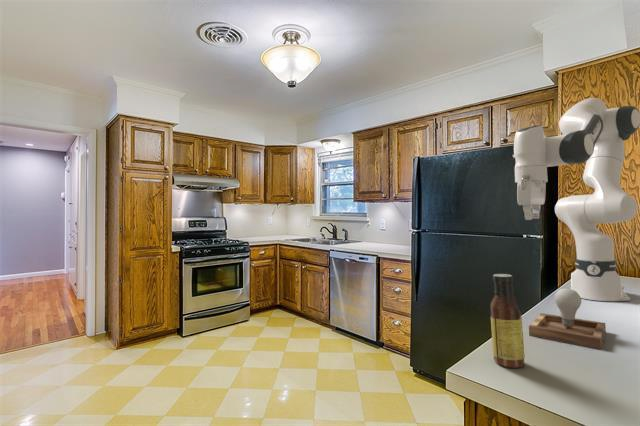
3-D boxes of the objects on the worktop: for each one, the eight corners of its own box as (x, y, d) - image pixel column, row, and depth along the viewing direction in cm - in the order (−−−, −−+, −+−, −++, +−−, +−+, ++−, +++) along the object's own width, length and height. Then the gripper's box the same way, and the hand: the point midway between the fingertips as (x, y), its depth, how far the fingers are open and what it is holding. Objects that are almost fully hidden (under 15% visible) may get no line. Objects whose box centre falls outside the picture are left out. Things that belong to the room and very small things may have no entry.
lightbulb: (586, 332, 90) (586, 291, 90) (561, 331, 91) (560, 290, 91) (574, 324, 96) (573, 286, 96) (550, 323, 97) (549, 285, 97)
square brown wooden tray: (541, 321, 103) (541, 313, 103) (605, 332, 92) (605, 322, 92) (529, 335, 92) (528, 326, 92) (600, 349, 81) (599, 338, 81)
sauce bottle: (531, 366, 74) (528, 276, 74) (509, 371, 72) (505, 279, 72) (507, 355, 80) (504, 271, 80) (485, 359, 78) (482, 274, 78)
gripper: (534, 173, 99) (536, 220, 99) (548, 177, 113) (550, 217, 113) (510, 175, 103) (512, 220, 103) (527, 179, 118) (528, 218, 118)
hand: (532, 219), depth 108 cm, fingers open, 8 cm apart
